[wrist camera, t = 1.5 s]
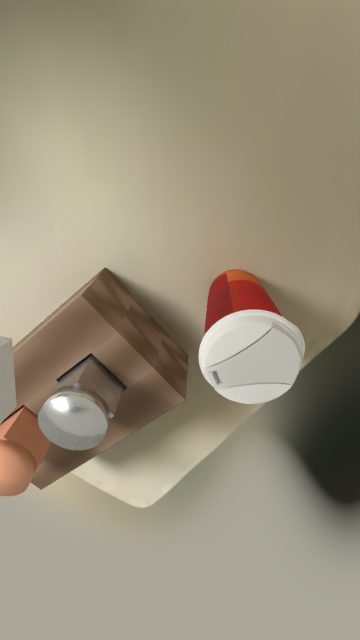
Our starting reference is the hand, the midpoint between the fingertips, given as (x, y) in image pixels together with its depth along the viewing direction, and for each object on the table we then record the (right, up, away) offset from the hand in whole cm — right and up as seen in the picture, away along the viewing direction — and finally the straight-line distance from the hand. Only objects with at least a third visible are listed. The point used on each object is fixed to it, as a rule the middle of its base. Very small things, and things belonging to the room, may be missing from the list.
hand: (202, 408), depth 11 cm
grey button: (-9, -2, +23) cm, 25 cm away
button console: (-13, -3, +30) cm, 33 cm away
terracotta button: (-17, -8, +27) cm, 32 cm away
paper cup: (+5, +6, +26) cm, 27 cm away
